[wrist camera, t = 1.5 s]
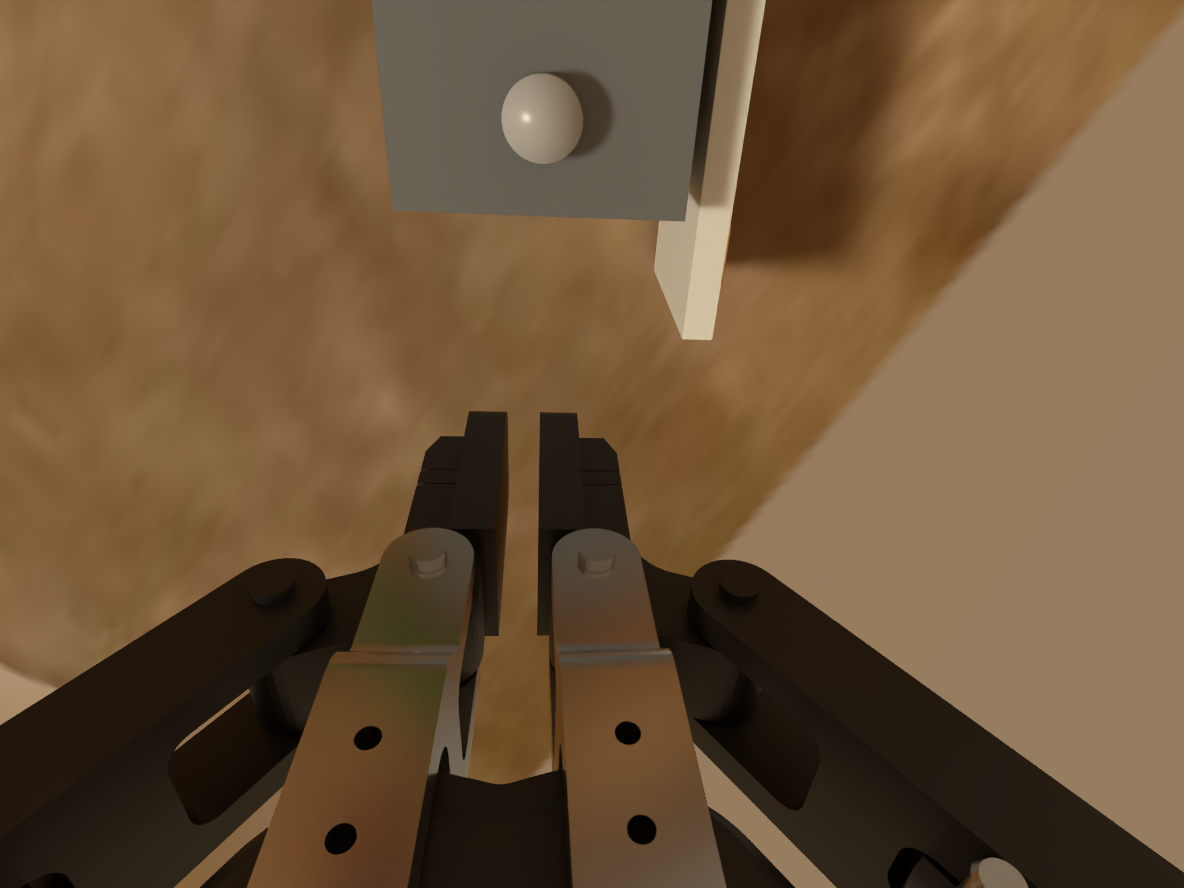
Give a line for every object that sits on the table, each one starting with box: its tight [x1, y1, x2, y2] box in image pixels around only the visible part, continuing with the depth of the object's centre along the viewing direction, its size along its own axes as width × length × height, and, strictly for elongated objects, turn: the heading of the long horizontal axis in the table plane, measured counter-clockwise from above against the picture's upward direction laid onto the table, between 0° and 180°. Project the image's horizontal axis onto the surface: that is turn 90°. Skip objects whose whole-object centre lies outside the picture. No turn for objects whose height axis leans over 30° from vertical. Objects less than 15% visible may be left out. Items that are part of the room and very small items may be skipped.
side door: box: [654, 0, 766, 340], centre depth 21 cm, size 17×2×7 cm, turn 177°
